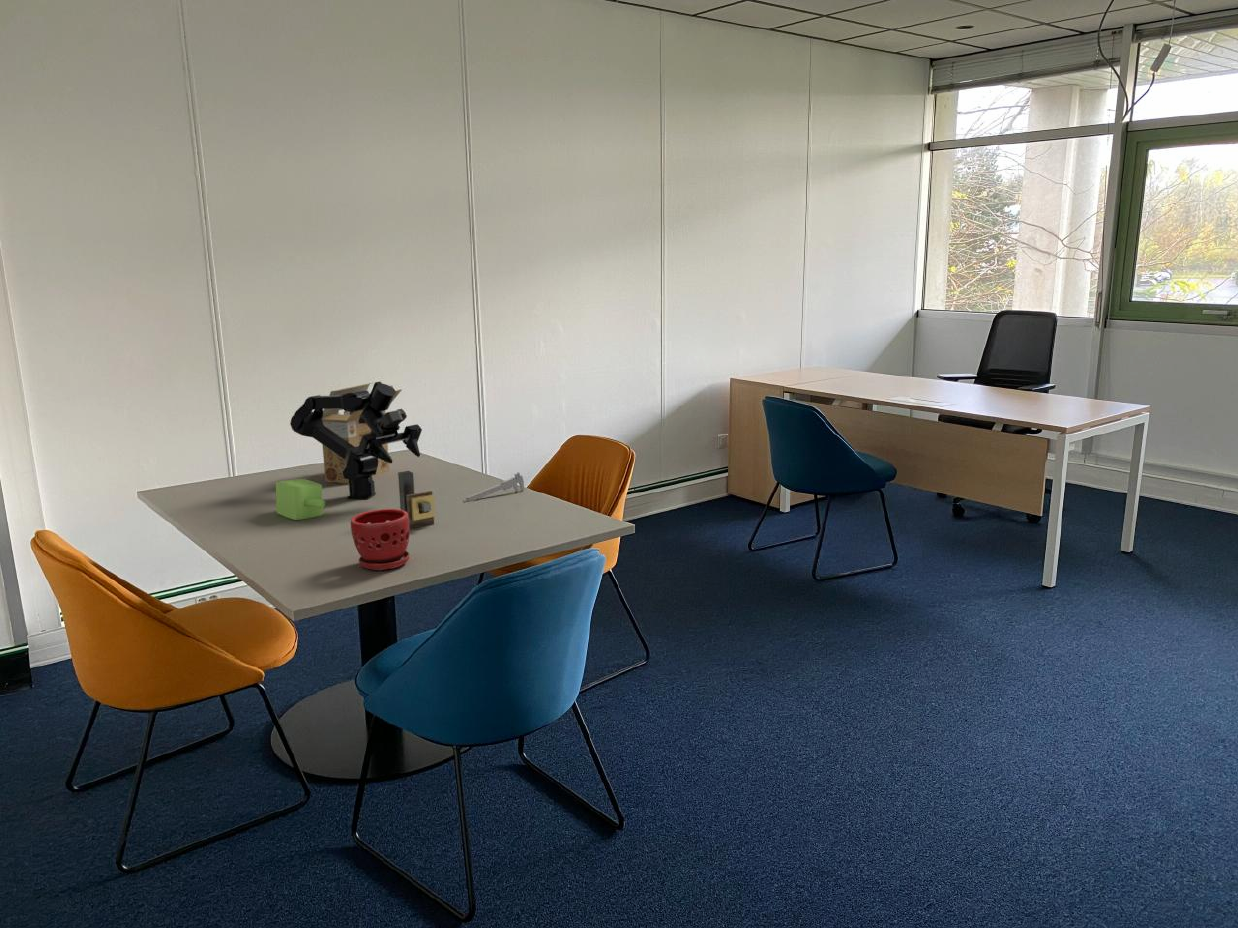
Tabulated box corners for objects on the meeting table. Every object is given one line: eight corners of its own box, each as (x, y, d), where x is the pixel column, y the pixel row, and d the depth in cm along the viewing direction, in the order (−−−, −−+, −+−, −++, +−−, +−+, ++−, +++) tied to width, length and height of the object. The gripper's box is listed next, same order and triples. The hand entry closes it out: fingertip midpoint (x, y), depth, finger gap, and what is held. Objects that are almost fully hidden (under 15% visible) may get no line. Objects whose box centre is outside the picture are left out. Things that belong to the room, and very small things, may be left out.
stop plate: (404, 525, 250) (402, 493, 248) (428, 521, 254) (426, 489, 252) (410, 528, 247) (407, 495, 245) (434, 523, 251) (432, 491, 249)
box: (371, 485, 295) (364, 391, 288) (319, 481, 302) (311, 389, 295) (407, 471, 314) (402, 383, 307) (358, 467, 321) (352, 381, 314)
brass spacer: (412, 519, 246) (410, 497, 245) (432, 515, 250) (431, 494, 248) (414, 520, 245) (412, 498, 244) (434, 516, 249) (433, 494, 247)
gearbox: (337, 518, 260) (336, 485, 258) (304, 524, 252) (303, 490, 251) (303, 506, 271) (302, 474, 270) (271, 512, 264) (270, 479, 262)
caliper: (522, 491, 286) (521, 471, 285) (524, 492, 285) (523, 472, 284) (462, 502, 274) (461, 481, 273) (464, 503, 273) (463, 482, 272)
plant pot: (393, 552, 227) (390, 504, 224) (422, 564, 218) (419, 515, 215) (344, 564, 218) (340, 515, 216) (371, 577, 209) (367, 526, 206)
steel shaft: (401, 518, 256) (398, 472, 253) (411, 516, 257) (408, 470, 255) (423, 529, 245) (420, 481, 242) (434, 527, 247) (431, 479, 244)
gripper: (355, 407, 260) (384, 445, 253) (412, 397, 273) (440, 432, 266) (347, 436, 266) (374, 473, 260) (402, 424, 279) (430, 460, 273)
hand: (405, 459), depth 265 cm, fingers open, 9 cm apart
